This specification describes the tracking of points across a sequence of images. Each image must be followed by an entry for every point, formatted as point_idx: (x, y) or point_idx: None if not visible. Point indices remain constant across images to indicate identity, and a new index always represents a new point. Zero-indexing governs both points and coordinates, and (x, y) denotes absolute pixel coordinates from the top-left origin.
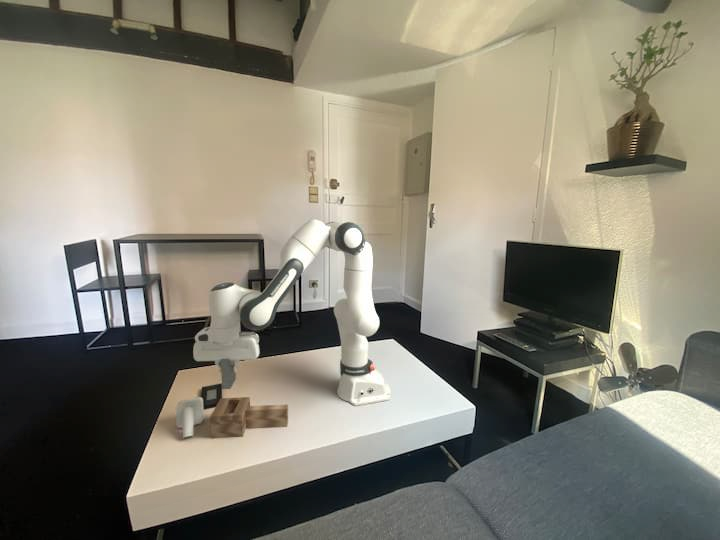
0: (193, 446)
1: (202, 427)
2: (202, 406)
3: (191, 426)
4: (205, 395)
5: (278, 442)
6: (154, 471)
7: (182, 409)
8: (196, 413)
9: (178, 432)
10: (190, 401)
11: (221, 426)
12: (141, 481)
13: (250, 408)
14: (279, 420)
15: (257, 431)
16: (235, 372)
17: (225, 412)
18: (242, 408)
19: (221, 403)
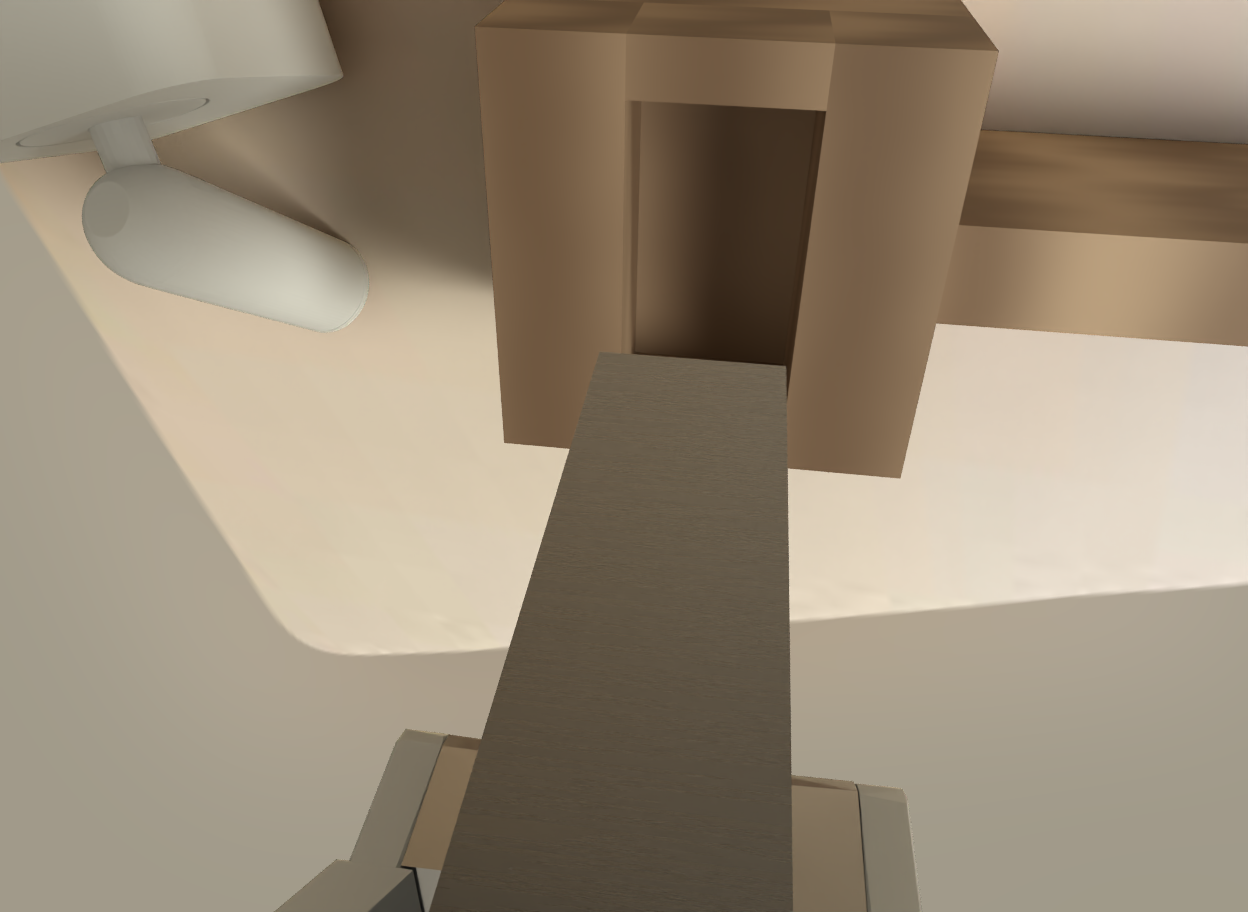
0: (440, 373)
1: (386, 118)
2: (248, 62)
3: (310, 292)
4: None
5: (1241, 447)
6: (299, 547)
7: (32, 147)
8: (229, 95)
9: (179, 167)
10: (45, 119)
11: None
12: (276, 598)
13: (1005, 289)
14: None
15: None
16: (787, 483)
17: (635, 219)
18: (896, 351)
19: (542, 184)
